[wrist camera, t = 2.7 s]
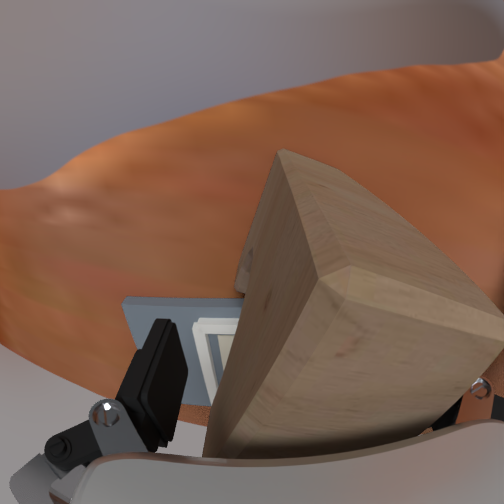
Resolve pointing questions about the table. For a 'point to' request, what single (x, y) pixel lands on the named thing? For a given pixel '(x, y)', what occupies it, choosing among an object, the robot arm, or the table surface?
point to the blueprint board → (191, 336)
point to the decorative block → (343, 324)
